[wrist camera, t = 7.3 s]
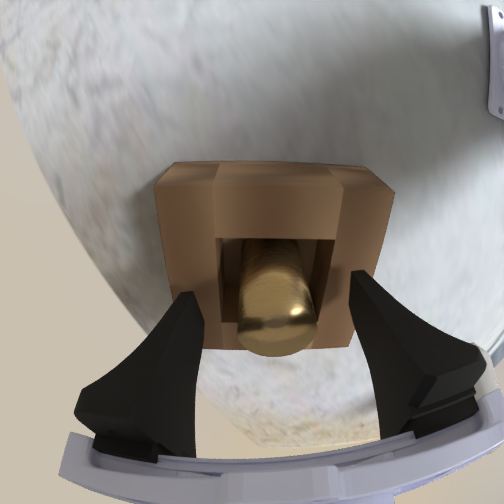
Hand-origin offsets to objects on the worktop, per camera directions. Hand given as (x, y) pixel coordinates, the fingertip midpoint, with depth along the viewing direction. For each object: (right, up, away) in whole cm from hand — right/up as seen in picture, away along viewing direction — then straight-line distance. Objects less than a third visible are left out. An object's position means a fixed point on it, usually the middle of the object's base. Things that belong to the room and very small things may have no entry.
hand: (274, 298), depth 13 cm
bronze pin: (0, +2, +3) cm, 4 cm away
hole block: (0, +2, +4) cm, 4 cm away
